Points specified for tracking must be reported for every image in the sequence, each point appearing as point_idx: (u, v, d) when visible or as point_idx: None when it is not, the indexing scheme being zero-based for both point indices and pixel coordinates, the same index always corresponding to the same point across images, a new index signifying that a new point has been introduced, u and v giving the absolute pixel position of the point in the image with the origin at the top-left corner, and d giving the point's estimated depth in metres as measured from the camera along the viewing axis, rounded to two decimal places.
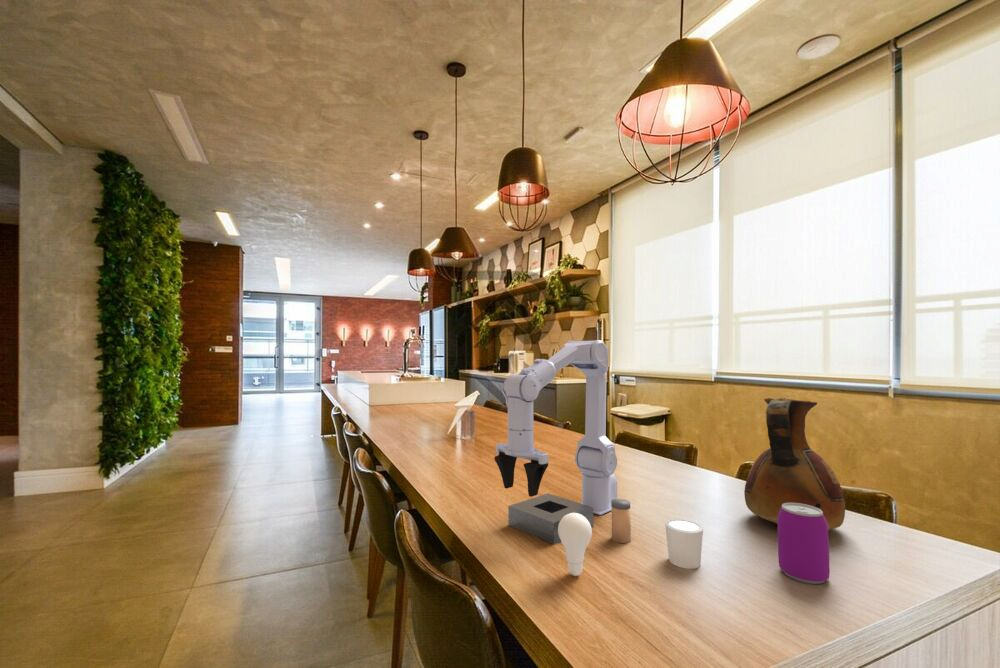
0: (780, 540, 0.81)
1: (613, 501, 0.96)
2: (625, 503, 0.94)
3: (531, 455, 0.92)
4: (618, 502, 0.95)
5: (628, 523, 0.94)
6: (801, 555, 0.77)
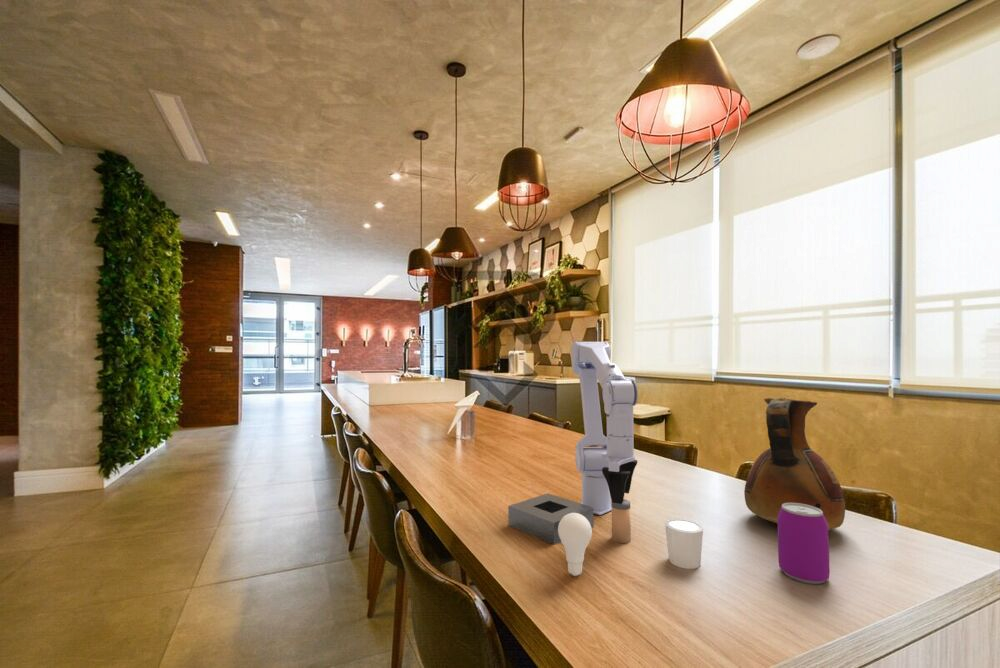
0: (780, 540, 0.81)
1: None
2: (625, 503, 0.94)
3: (608, 460, 0.92)
4: None
5: (628, 523, 0.94)
6: (801, 555, 0.77)
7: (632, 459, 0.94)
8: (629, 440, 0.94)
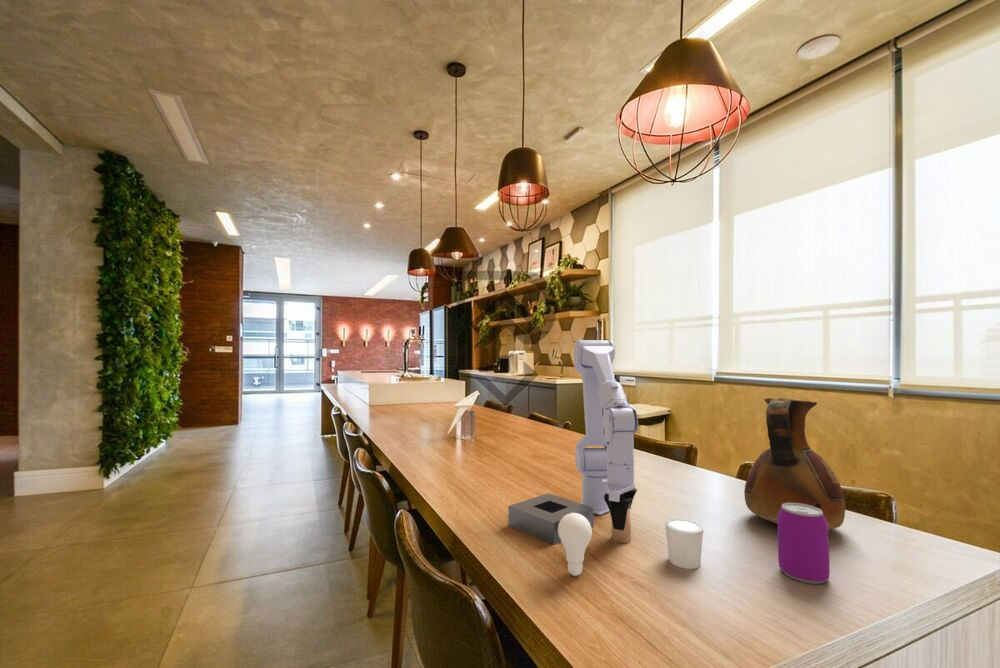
0: (780, 540, 0.81)
1: None
2: None
3: (608, 489, 0.92)
4: None
5: (628, 523, 0.94)
6: (801, 555, 0.77)
7: (632, 487, 0.93)
8: (629, 468, 0.93)
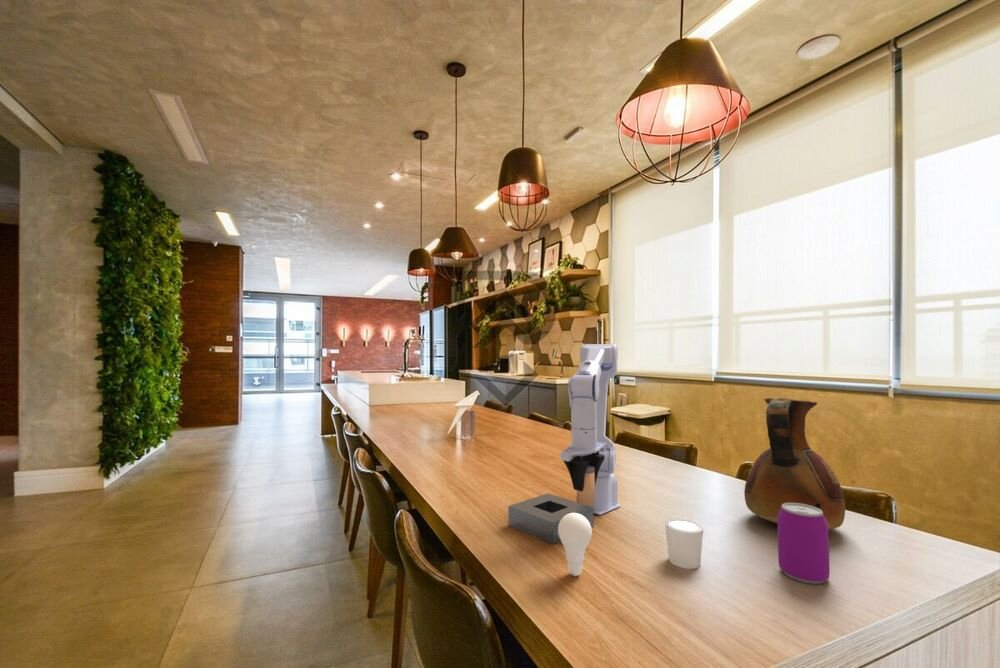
0: (780, 540, 0.81)
1: None
2: (587, 468, 0.98)
3: None
4: None
5: (590, 487, 0.97)
6: (801, 555, 0.77)
7: (591, 451, 0.97)
8: (588, 433, 0.97)
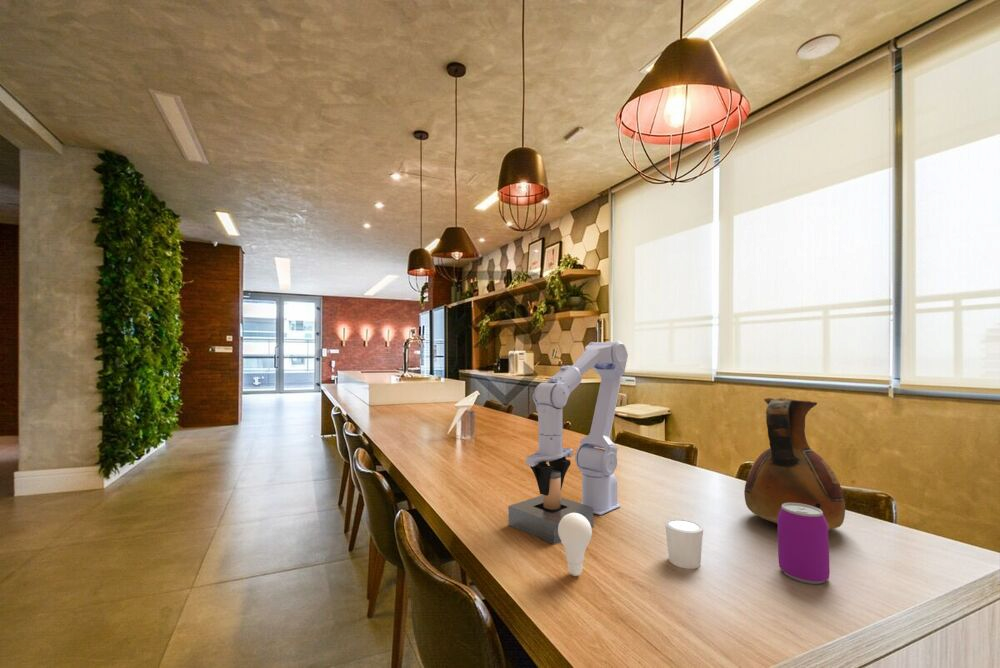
0: (780, 540, 0.81)
1: None
2: (553, 473, 1.01)
3: None
4: None
5: (556, 492, 1.00)
6: (801, 555, 0.77)
7: (556, 457, 1.00)
8: (553, 439, 1.00)
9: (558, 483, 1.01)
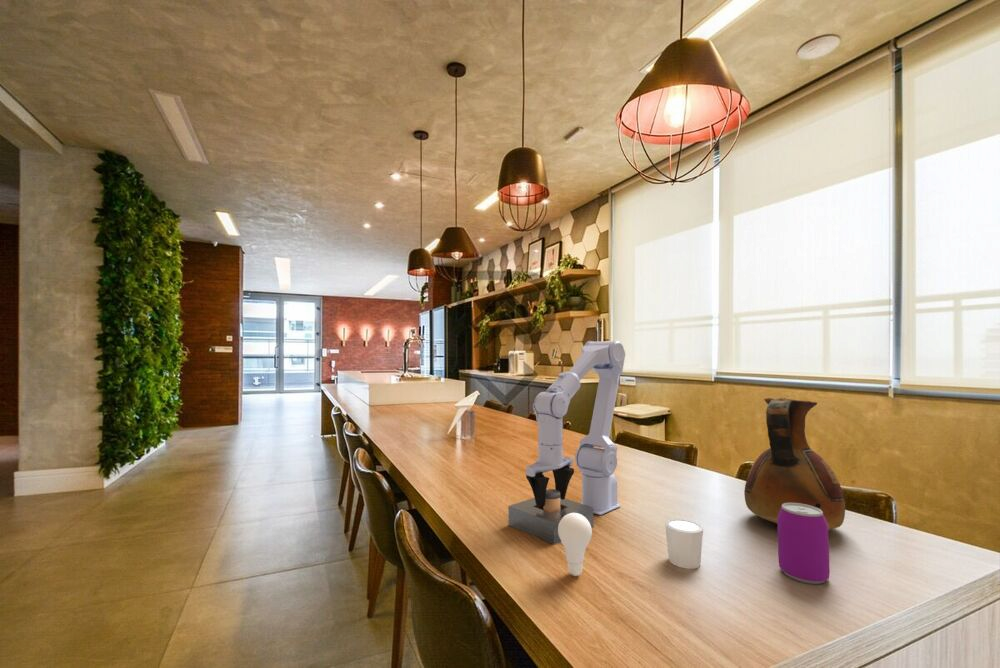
0: (780, 540, 0.81)
1: None
2: (553, 493, 1.01)
3: None
4: (549, 492, 1.02)
5: None
6: (801, 555, 0.77)
7: (556, 467, 1.00)
8: (553, 449, 1.00)
9: (558, 503, 1.01)
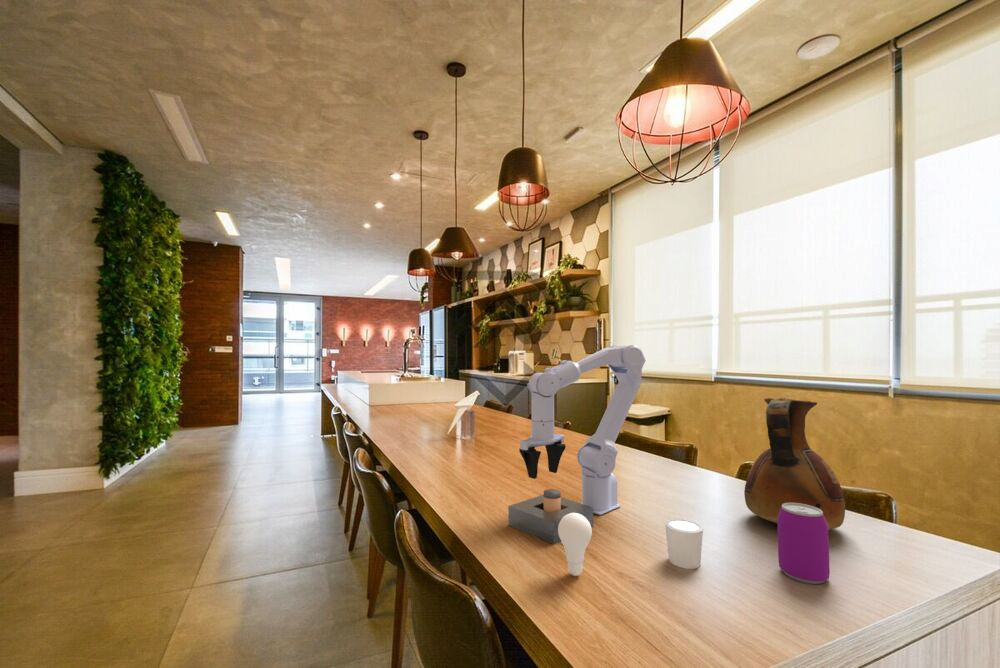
0: (780, 540, 0.81)
1: (545, 491, 1.03)
2: (553, 493, 1.01)
3: None
4: (549, 491, 1.02)
5: None
6: (801, 555, 0.77)
7: (548, 441, 1.07)
8: (545, 425, 1.08)
9: (558, 503, 1.01)
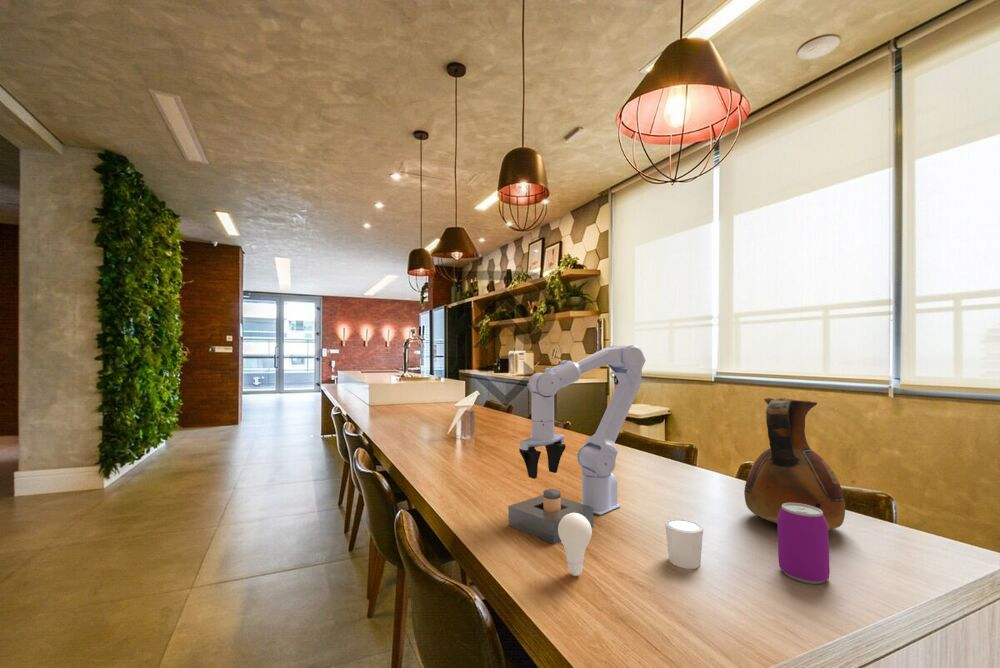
0: (780, 540, 0.81)
1: (545, 491, 1.03)
2: (553, 493, 1.01)
3: None
4: (549, 492, 1.02)
5: None
6: (801, 555, 0.77)
7: (547, 441, 1.07)
8: (545, 425, 1.08)
9: (558, 503, 1.01)
